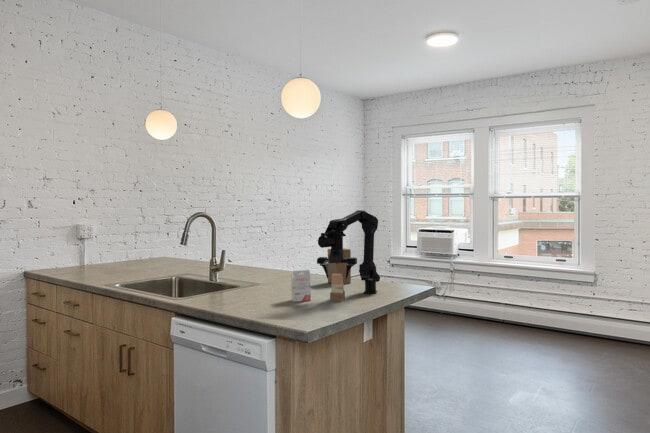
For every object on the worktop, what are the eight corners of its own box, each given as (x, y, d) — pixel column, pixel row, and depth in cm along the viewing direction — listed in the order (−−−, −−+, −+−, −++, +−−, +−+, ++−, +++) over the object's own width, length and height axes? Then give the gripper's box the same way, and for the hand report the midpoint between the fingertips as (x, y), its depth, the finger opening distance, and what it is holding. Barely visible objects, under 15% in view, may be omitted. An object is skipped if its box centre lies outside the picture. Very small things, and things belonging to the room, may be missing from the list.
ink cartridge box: (308, 298, 227) (308, 268, 226) (310, 300, 222) (310, 270, 221) (291, 299, 224) (290, 269, 224) (293, 301, 219) (292, 270, 219)
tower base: (332, 298, 227) (332, 290, 227) (344, 299, 225) (344, 291, 225) (330, 301, 221) (330, 292, 221) (342, 301, 219) (342, 293, 219)
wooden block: (351, 283, 270) (350, 249, 269) (336, 285, 265) (336, 250, 264) (341, 281, 278) (341, 247, 278) (327, 282, 273) (327, 248, 273)
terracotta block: (333, 282, 226) (333, 273, 226) (342, 283, 225) (342, 273, 225) (331, 284, 221) (331, 274, 221) (340, 284, 220) (340, 275, 220)
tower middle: (333, 290, 226) (333, 282, 226) (343, 291, 225) (343, 283, 225) (331, 292, 221) (331, 284, 221) (341, 293, 220) (341, 284, 220)
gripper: (313, 247, 217) (314, 280, 217) (353, 248, 212) (353, 282, 213) (319, 245, 227) (319, 277, 228) (357, 245, 223) (357, 278, 223)
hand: (337, 278), depth 223 cm, fingers open, 9 cm apart
